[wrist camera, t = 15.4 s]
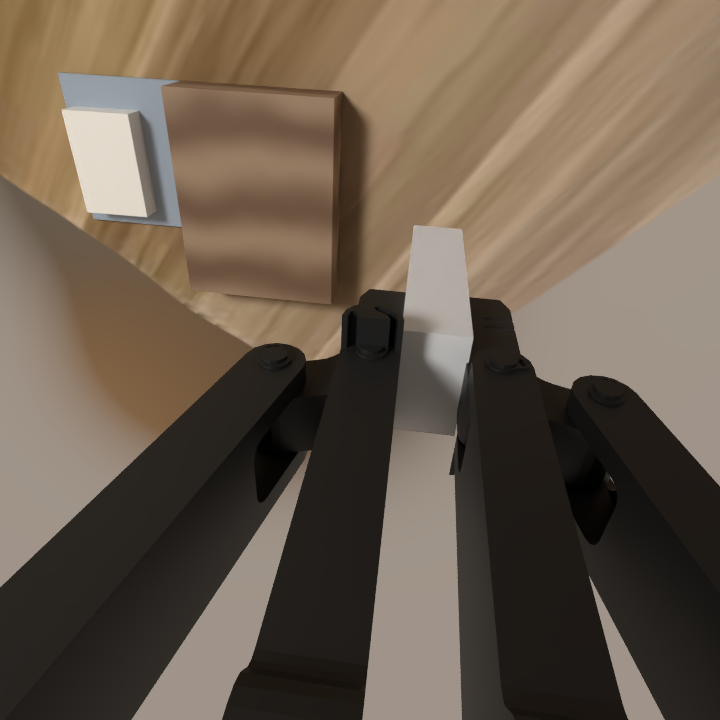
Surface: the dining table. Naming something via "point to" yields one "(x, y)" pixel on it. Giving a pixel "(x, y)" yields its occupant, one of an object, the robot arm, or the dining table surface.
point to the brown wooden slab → (257, 187)
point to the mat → (151, 110)
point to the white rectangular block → (110, 160)
